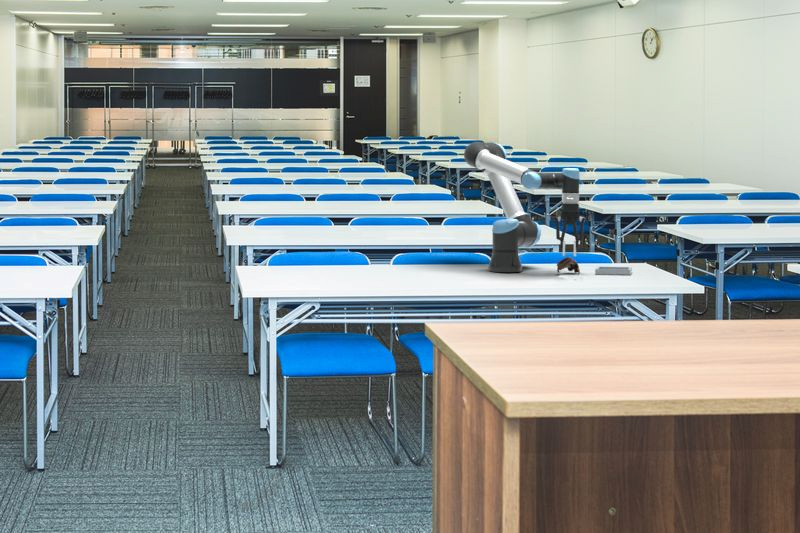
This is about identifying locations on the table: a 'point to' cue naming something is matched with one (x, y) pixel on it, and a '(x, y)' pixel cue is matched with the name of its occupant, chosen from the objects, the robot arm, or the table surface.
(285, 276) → the table surface
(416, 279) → the table surface
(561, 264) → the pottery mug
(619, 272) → the tray
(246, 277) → the table surface
